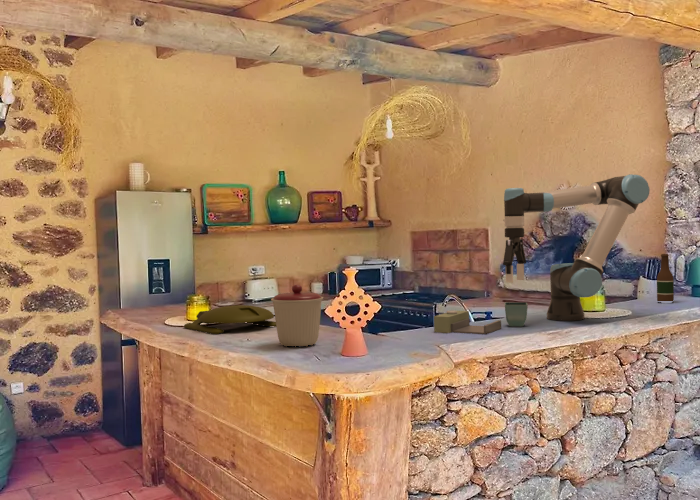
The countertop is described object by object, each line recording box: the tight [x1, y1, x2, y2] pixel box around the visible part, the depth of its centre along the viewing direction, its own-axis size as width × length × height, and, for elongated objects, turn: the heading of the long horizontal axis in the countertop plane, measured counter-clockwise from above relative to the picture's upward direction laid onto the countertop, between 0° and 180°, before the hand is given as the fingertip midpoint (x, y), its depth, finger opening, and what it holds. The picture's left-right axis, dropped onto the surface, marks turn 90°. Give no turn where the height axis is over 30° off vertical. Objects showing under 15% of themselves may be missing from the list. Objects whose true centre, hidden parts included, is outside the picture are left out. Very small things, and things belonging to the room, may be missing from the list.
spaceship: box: [183, 304, 276, 335], centre depth 292 cm, size 35×31×10 cm
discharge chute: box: [451, 318, 502, 335], centre depth 267 cm, size 14×16×3 cm
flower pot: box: [503, 301, 529, 328], centre depth 276 cm, size 9×9×9 cm
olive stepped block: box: [433, 310, 470, 334], centre depth 273 cm, size 6×20×7 cm, turn 148°
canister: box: [270, 284, 324, 348], centre depth 243 cm, size 18×18×21 cm
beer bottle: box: [656, 253, 675, 301], centre depth 342 cm, size 8×8×24 cm
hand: (515, 281), depth 276 cm, fingers open, 13 cm apart
